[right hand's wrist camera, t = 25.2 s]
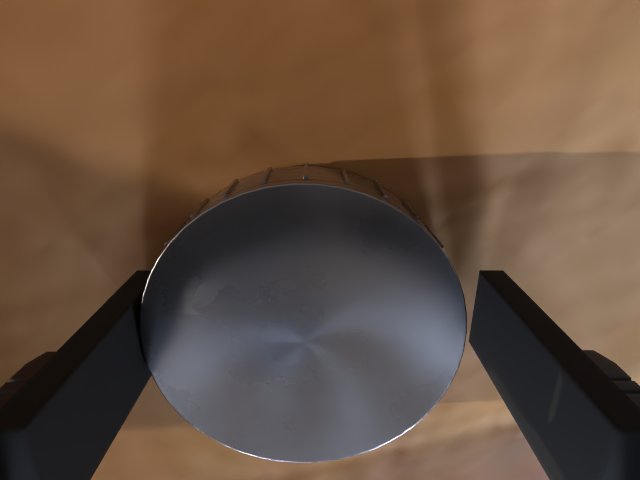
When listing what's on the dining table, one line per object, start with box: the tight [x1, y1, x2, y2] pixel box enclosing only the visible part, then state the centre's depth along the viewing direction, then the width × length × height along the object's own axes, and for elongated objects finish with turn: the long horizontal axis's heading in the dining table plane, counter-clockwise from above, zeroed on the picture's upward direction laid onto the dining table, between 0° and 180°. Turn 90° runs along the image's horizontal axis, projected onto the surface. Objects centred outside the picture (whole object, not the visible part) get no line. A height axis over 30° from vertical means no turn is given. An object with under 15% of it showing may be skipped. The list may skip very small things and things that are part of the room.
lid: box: [140, 163, 467, 463], centre depth 13 cm, size 10×10×2 cm
